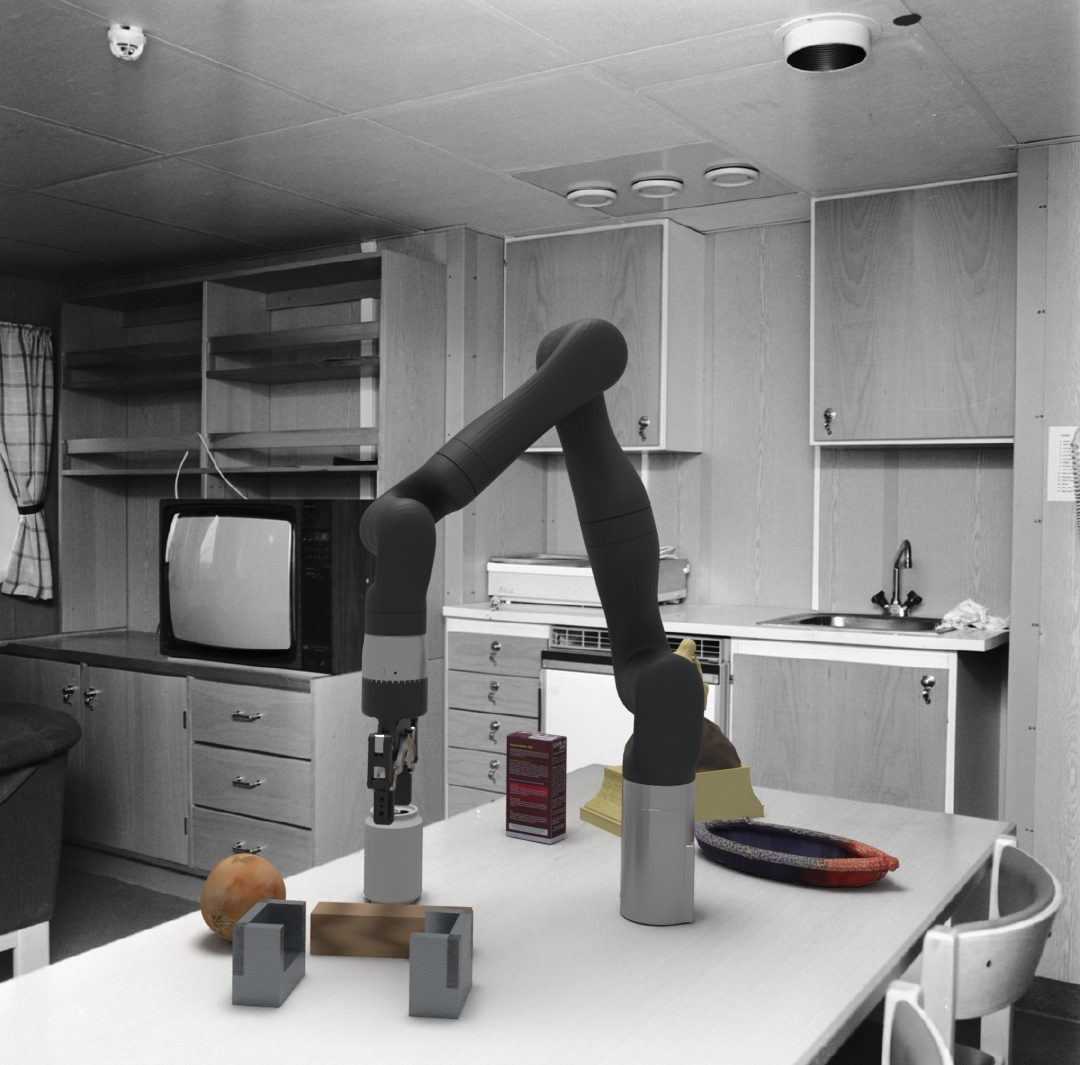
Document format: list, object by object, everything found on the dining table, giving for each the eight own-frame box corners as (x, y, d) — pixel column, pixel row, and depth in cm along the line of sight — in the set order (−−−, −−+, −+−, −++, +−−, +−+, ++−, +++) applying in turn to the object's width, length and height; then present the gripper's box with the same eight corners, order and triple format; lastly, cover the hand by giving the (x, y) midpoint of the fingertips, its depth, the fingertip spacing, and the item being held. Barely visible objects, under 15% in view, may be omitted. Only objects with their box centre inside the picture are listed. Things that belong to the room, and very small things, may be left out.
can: (411, 911, 146) (412, 817, 146) (355, 906, 147) (356, 812, 147) (429, 892, 153) (430, 802, 153) (375, 887, 155) (376, 798, 154)
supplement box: (567, 838, 179) (569, 735, 179) (550, 845, 175) (552, 741, 175) (520, 829, 184) (522, 729, 183) (503, 836, 180) (505, 734, 179)
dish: (722, 838, 181) (723, 806, 181) (915, 880, 162) (916, 845, 162) (669, 861, 169) (669, 827, 169) (870, 909, 150) (871, 871, 150)
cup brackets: (472, 984, 124) (473, 910, 124) (458, 1018, 116) (459, 939, 115) (260, 971, 127) (261, 898, 126) (232, 1004, 118) (232, 926, 118)
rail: (471, 949, 134) (472, 907, 134) (467, 963, 130) (468, 919, 130) (318, 944, 135) (319, 901, 135) (309, 957, 131) (310, 913, 131)
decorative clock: (714, 799, 204) (717, 630, 204) (763, 817, 193) (767, 638, 193) (579, 819, 190) (582, 637, 189) (624, 840, 179) (627, 646, 178)
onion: (299, 927, 140) (300, 845, 140) (263, 959, 130) (264, 870, 130) (225, 920, 142) (226, 839, 142) (184, 951, 132) (185, 863, 132)
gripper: (413, 683, 125) (411, 833, 125) (439, 665, 139) (437, 800, 139) (345, 681, 126) (343, 829, 126) (378, 663, 140) (376, 797, 140)
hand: (393, 814), depth 133 cm, fingers open, 8 cm apart
